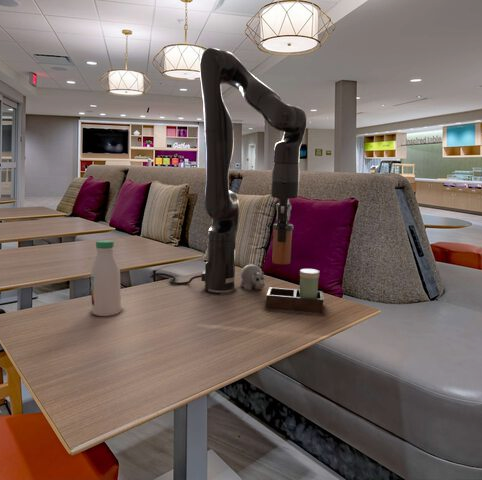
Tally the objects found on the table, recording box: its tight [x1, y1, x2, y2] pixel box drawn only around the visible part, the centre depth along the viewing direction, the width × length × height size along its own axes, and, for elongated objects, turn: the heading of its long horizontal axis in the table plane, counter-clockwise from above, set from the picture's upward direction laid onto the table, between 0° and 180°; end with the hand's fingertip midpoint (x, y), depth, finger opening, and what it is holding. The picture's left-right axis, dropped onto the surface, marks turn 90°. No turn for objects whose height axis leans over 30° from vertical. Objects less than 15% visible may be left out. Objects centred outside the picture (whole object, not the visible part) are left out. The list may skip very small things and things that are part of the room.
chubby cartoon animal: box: [239, 264, 266, 291], centre depth 138 cm, size 7×12×8 cm, turn 20°
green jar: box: [299, 268, 321, 299], centre depth 121 cm, size 6×6×11 cm
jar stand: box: [265, 286, 324, 315], centre depth 123 cm, size 16×8×5 cm, turn 79°
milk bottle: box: [90, 239, 122, 317], centre depth 114 cm, size 8×8×20 cm
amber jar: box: [271, 222, 294, 265], centre depth 119 cm, size 6×6×11 cm
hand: (282, 239), depth 118 cm, fingers closed on amber jar, 5 cm apart
